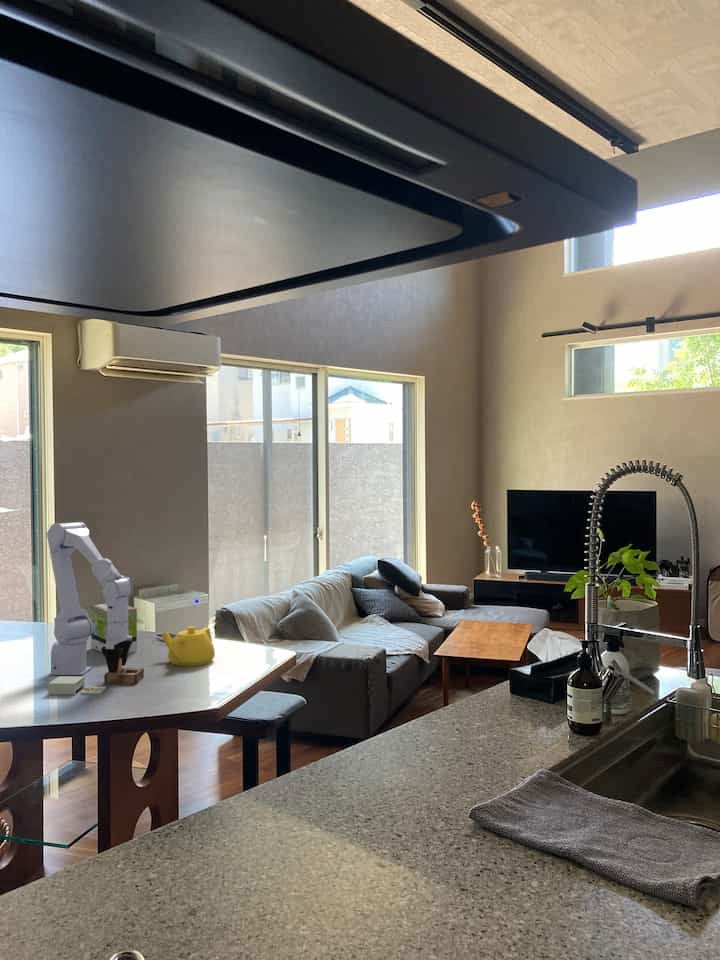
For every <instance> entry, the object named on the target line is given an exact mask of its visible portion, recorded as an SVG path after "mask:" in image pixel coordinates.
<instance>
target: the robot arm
mask: <svg viewBox="0 0 720 960" xmlns="http://www.w3.org/2000/svg"><path fill="white" fill-rule="evenodd" d="M46 538H47V543H48V549H49V554H50V561H51V565H52V566H51V567H52V571H53V577H54V582H55V586H56V587H55V589H56V594H57V596H58V597H57V599H58V603H59V608H60V612H58V614H57V615H56V616H55V617H54V619H53V622H54V629H53V633H54V637H55V640H56V641H55V642H54V643H53V644H52V645H51V651H50V672H49V675H50V676H83V675H84V674H86V673H87V672H89V671H90V670H91V669H92V667H91V666H87V642H88V641H89V640H90V639H89V637H91V634H92V631H93V625H92V622H91V618H90V617H89V612H88V611H87V610H86V609H84V608H82V607H81V604H80V599H79V593H78V588H77V585H76V584H77V583H76V579H75V573H74V567H73V564H72V557H71V555H72V553H73V552H74V551H76V550H78V551H79V552H80V554H82V556H83V557H84V558H85V559H86V560H87V561H88V562H89V563H90V564H91V568H90V569H91V573H92V574H93V575H94V577H95V578H96V579H97V580H98V582H99V584H100V585H101V586H102V587H103V588H102V595H103V597H104V599H105V603H104V604H106V605H107V637H106V641H107V642H106V647H102V648H101V651H102V655H103V656H104V659H105V661H106V665H107V669H108V671H109V673H117V671H118V666H119V659H120V658H121V659H122V667H125V666H126V664H127V659H128V657H129V653H128V652H129V649H130V646H131V644H132V642H133V640H132V636H129V631H128V606H129V597H131V596H132V594H133V590H134V585H133V582H132V581H131V579H130V578H129V577H127V576H124V575H123V574H122V575H121V574H120V572H119V571H118V570H117V568H116V567H115V566H114V564H113V561H112V560H110V559H109V558H103V556H102V555H101V554H100V552H99V550H98V548H97V547H96V546H95V544H94V542H93V540H92V539H91V538H90V529H88V527H87V526H86V524H85V523H84V522H82V521H76V522H61V523H59V522H54V523H52V525H50V527H49V529H48V531H47V533H46Z"/></svg>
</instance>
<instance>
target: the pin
mask: <svg viewBox="0 0 720 960" xmlns="http://www.w3.org/2000/svg"><path fill="white" fill-rule="evenodd" d="M122 668H123V666H122V659H121V658H120V659H119V666H118V671H117V673H122Z"/></svg>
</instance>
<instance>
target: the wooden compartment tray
mask: <svg viewBox="0 0 720 960" xmlns="http://www.w3.org/2000/svg"><path fill="white" fill-rule="evenodd" d="M144 673H145V669H144V668H143V667H141V668H140V667H139V668H138V667H135V668H134V667H133V668H131V667H130V668H129V667H127V668H123V667H122V673H109V670H108V671H107V672H105V674H104V684H107V685H109V684H110V685H114V684H115V685H116V684H117V685H118V684H119V685H120V684H122V685H123V684H124V685H126V684H127V685H128V684H129V685H133V684H134V685H137V684H138V683H140V681H141V680H142V679H143V678H144V677H145V675H144Z"/></svg>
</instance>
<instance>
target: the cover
mask: <svg viewBox="0 0 720 960" xmlns="http://www.w3.org/2000/svg"><path fill="white" fill-rule="evenodd" d="M85 681H86V680H85V676H78V675H58V676H57V677H55V678H54V679H53V680H52V681H50V682H48V695H74V696H75V695H76V694H77V693H76V692H77V691H78V690H80V689H81V688H82V689H83V688H84V689H85Z"/></svg>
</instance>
